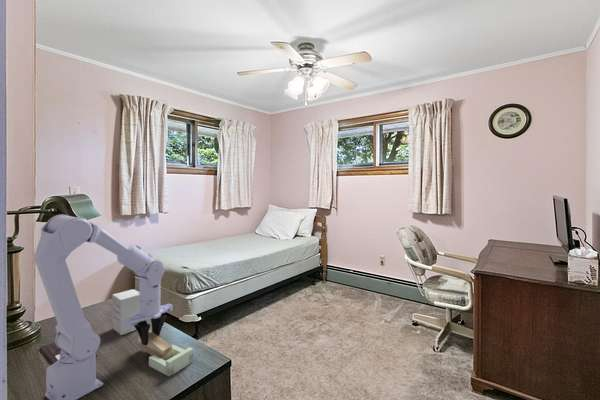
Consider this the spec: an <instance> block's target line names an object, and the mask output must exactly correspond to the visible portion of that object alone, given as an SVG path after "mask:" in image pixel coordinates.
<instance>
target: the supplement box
mask: <svg viewBox="0 0 600 400" xmlns="http://www.w3.org/2000/svg"><path fill="white" fill-rule="evenodd" d="M139 312H140V291H139V290H136V289H129V290H124V291H121V292H117V293H113V294H112V329H113V331H116V333H118V334H119V335H120V336H123V335H126V334H129V333H131V332H134V331H137V330H136V328H135V327H134V326H132V328H130V329H127V328H125V327H124V321H125V320H127V319H129V318H131V317H133V316H134V315H136V314H138V313H139Z"/></svg>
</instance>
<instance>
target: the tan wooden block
mask: <svg viewBox="0 0 600 400" xmlns="http://www.w3.org/2000/svg"><path fill="white" fill-rule="evenodd" d="M136 343H137V346H138V347H140V348H141V349H143V350H144V351H145V352H146V353H148V355H150V356H152V355H155V356H157V357H159V358H161V359H163V360H165V361H166V360H168V359H170V358H172V356H171V351H172V346H171V344H170V343H168V342H167V341H166V340H164V339H163V338H162V337H160V335H159V336H157V335H156V334H155V333H153V332H152V330H151V329H149V333H148V345H146V346H145V345H143V344H142V343H141V339H140V336H139V334H138V336H137V342H136Z"/></svg>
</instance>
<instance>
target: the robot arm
mask: <svg viewBox="0 0 600 400" xmlns="http://www.w3.org/2000/svg"><path fill="white" fill-rule="evenodd" d="M85 242H86V243H89V244H91V243H95V244H96V245H98V246H100V247H101V248H103V249H104V250H107V251H109V252H110V253H112V254H114V255H116V257H117V258H116V259H117V261H118V263H119V264H120V265H123V266H124V267H126V268H127V269H129V270H131V271H132V272H134V273H135V275H136V276H139V281H138V283H139V285H138V286H139V292H140V312H139V313H138V314H136V315H134V316H133V317H131V318H129V319H127V320H125V321H124V327H125V328H127V329H130V328H132V326H134V327H135V328H136V330H135V331H137V333H138V334H139V336H140V339H141V343H142V344H143V345H145V346H146V345H148V333H149V330H150V327H151V331H152V332H153V333H155V334H156V335H157V336H159V337H160V335H161V331H162V328H163V325H164V324H165V323H166V320H167V319H168V317H167V315H166V314H165V313H168V312H173V309H174V305H173V304H172V303H166V304H163V305H161V296H162V295H161V293H162V291H161V283H162V277H163V276H164V273H165V272H166V268H165V267H164V265H163V262H161V261H160V260H156V259H153V255H152V254H150V253H148V254H147V253H146V252H145V251H143V250H142V247H141V246H140V245H138V244H137V245H136V244H135V245H134V244H129V245H125V244H124V243H123V242H121V240H118V238H116V237H114V236H113V235H112V234H110V233H109V232H108V231H107V230H105V229H104V228H102V227H101V226H100V225H98V224H96V223H94V222H91V221H89V220H88V219H86V218H84V217H79V216H71V215H69V214H57V215H54V216H52V217H51V218H49V219H48V220H47V222H45V224H44V225H43V226H42V227H41V228H40V238H39V240H38V242H37V246H36V249H35V253H34V256H33V258H34V262H35V265H36V268H37V270H38V274H39V276H40V279H41V281H42V285H43V287H44V289H45V293H46V296H47V297H48V301H49V303H50V306H51V310H52V312H53V315H54V318H55V320H56V323H57V324H56V326H55V331H56V336H55V339H54V343H56V346H57V347H58V348H60V349H61V354H60V359H59V360H58V361H57V362H55V363H54V364H52V363H51V365H49V366H47V368H46V370H45V386H46V387H45V389H46V390H45V391H46V392H45V394H44V395H45V397H46V398H47V399H48V400H79V399H80V398H82V397H84V396H85V395H88V394H90V393H91V392H93V391H95V390H96V389H99V388H100V387H102V386H104V382H102V381H101V380H100V379H98V378H97V377H96V374H97V371H96V368H97V367H96V366H97V365H96V361H97V360H96V358H97V357H96V355H97V354H96V352H97V351H98V349H99V348H100V346H101V337H100V335H99V334H97V332H95V331H94V330H93V328H92V325H91V324H90V323H89V321H88V320H87V319H86V318H85V315H84V312H83V309H82V305H81V303H80V299H79V297H78V293H77V292H76V287H75V285H74V283H73V279H72V276H71V273H70V270H69V266H68V264H67V261H66V259H67V258H68V257H69V256H70V254H71V253H72V252H74V250H76V249H78V248H79V247H80V246H82V245H83V244H84V243H85ZM148 320H150V323H151V324H150V323H148Z"/></svg>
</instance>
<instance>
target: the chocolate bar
mask: <svg viewBox="0 0 600 400" xmlns="http://www.w3.org/2000/svg"><path fill="white" fill-rule="evenodd" d="M39 350H40V351H41V352H42V354H43V355H44V356H45V357H46V359H48V361H50V363H51V365H52V364H54V363H55V362H57V361H58V360H59V359H60V354H61V349H60V348H58V347H57V346H56V343H55V342H51V343H49V344H46V345H43V346H40V347H39ZM96 358H98V355H97V354H96Z"/></svg>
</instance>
